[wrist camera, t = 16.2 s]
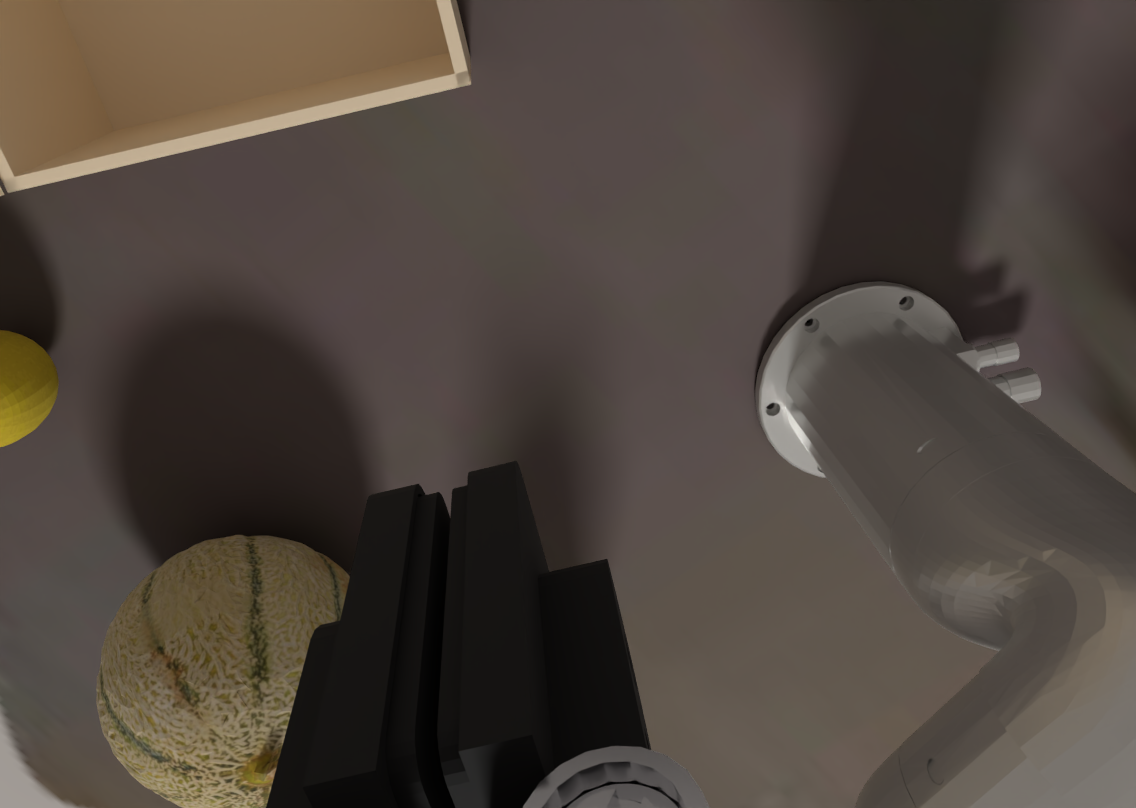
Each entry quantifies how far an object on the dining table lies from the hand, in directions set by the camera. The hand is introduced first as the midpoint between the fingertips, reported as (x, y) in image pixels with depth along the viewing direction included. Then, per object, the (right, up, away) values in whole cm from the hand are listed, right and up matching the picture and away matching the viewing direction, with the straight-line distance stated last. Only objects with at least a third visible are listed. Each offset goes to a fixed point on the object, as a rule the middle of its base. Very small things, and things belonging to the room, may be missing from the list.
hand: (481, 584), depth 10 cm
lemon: (-28, +5, +38) cm, 47 cm away
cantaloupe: (-18, -9, +46) cm, 50 cm away
